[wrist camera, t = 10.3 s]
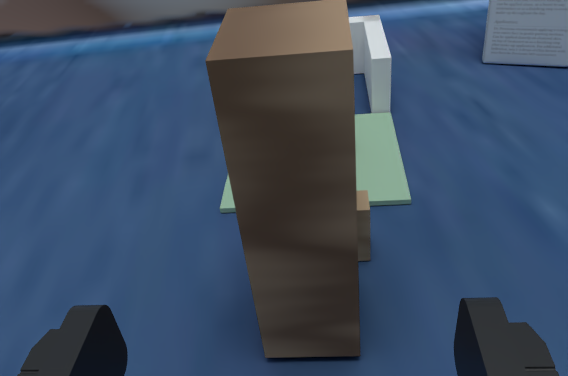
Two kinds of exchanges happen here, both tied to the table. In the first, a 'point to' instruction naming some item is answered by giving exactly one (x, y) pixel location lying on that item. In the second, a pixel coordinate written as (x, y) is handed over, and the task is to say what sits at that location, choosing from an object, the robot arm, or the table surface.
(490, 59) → the skincare box
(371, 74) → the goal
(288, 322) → the brown thin block
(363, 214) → the guides
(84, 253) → the table surface
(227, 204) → the pale green square plate
